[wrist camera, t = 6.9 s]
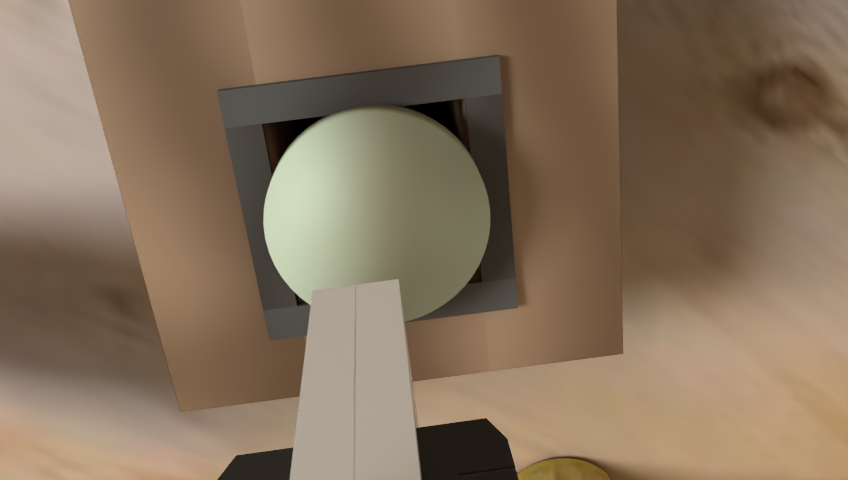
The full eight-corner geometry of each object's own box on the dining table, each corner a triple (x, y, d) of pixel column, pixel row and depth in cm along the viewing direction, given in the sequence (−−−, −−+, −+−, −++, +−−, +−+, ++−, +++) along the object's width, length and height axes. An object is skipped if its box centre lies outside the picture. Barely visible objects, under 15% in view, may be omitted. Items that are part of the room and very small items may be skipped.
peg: (306, 233, 29) (285, 338, 22) (277, 72, 27) (242, 128, 20) (465, 213, 29) (498, 310, 22) (450, 51, 27) (480, 98, 20)
